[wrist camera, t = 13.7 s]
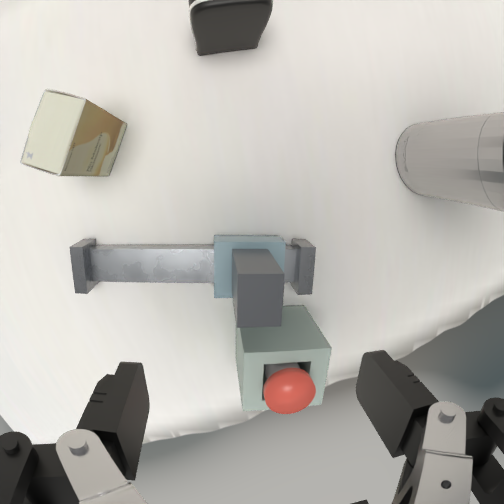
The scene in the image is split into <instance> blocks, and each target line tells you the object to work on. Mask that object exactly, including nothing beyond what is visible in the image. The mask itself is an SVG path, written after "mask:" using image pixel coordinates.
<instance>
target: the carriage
mask: <svg viewBox="0 0 504 504" xmlns="http://www.w3.org/2000/svg"><path fill="white" fill-rule="evenodd" d="M285 245H286V242H285V241H284V240H283V239H282V238H281V237H280V236H253V235H214V298H233V304H234V311H235V318H236V324H237V328H245V327H278V326H281V322H282V307H283V292H284V277H285V274H284V263H285Z"/></svg>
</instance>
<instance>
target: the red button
mask: <svg viewBox="0 0 504 504" xmlns="http://www.w3.org/2000/svg"><path fill="white" fill-rule="evenodd" d="M264 371H265V375H266V379H267V380H266V382H265V384H264V387H263V393H264V398H265V402H266V405H267V406H268V407H269V408H270V409H271V410H272V411H274V412H276V413H281V414H291V413H295V412H298V411H300V410H302V409H304V408H305V407H307V406H308V405H309V404H310V403H311V402H312V401H313V399H314V397H315V394H316V388H315V385H314V383H313V380H312V378H311V376H310V375H309V374H308V373H307V372H306V371H305V370H303V369H300V367H299V365H298V362H294V363H279V364H264Z"/></svg>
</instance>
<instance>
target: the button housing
mask: <svg viewBox="0 0 504 504" xmlns="http://www.w3.org/2000/svg"><path fill="white" fill-rule="evenodd" d="M330 354H331V346H330V345H329V343H328V342H327V340H326V338H325V337H324V335H323V334H322V332H321V331H320V329H319V328H318V326H317V325H316V323H315V322H314V320H313V318H312V317H311V315H310V314H309V312H308V311H307V309H306V308H305V306H283V307H282V322H281V326H278V327H245V328H237V324H236V363H237V371H238V379H239V386H240V394H241V401H242V408H243V411H256V410H270V408H269V407H268V406H267V405H266V402H265V398H264V393H263V387H264V384H265V382H266V380H267V379H266V375H265V371H264V364H279V363H294V362H298V365H299V367H300V369H303V370H305V371H306V372H307V373H308V374H309V375H310V376H311V378H312V380H313V383H314V385H315V388H316V394H315V397H314V399H313V401H312V402H311V403H310V404H309V405H308V406H314V405H321V403H322V399H323V394H324V388H325V383H326V377H327V372H328V366H329V360H330Z"/></svg>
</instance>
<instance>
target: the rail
mask: <svg viewBox="0 0 504 504" xmlns="http://www.w3.org/2000/svg"><path fill="white" fill-rule="evenodd" d="M315 250H316V247H315V246H313V245H312V244H311V243H310V242H308V241H307V240H306V239H292V245H285V263H284V274H285V277H284V282H290V284H291V285H292V287H293V288H294V290H295V291H296V293H297V294H298V295H305V294H312V286H313V275H314V263H315ZM70 254H71V263H72V272H73V280H74V287H75V293H84V294H88V293H89V292H90V291H91V290H92V289H93V287H94V286H95V285H96V284H97V283H98V282H99V281H106V282H166V283H214V245H96V239H83V240H81V241H79V242H78V243H76V244H74V245H72V246H71V247H70Z"/></svg>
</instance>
